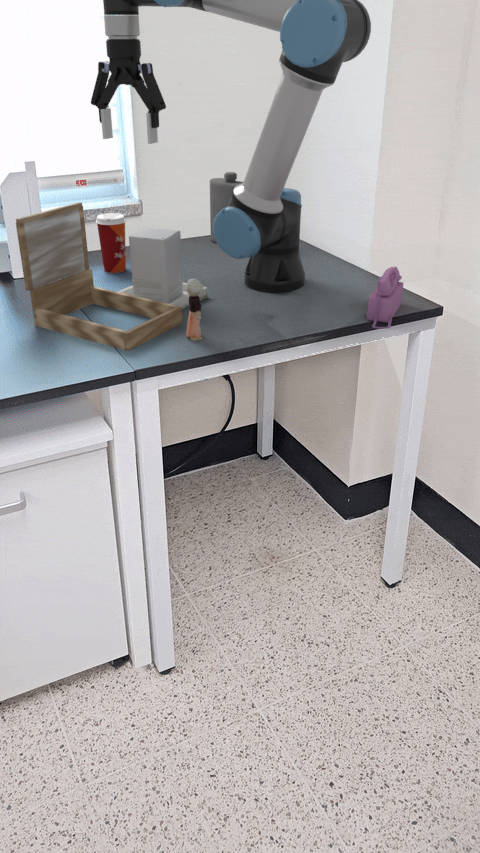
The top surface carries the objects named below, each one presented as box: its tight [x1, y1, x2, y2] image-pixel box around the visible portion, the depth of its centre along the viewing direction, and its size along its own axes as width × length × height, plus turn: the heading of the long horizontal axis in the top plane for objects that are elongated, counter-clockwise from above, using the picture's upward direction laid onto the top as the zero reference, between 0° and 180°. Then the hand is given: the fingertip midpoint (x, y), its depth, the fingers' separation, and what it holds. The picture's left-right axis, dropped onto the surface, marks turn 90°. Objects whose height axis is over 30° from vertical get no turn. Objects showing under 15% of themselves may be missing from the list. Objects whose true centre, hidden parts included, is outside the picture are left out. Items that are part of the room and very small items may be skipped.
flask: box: [209, 171, 244, 244], centre depth 207 cm, size 15×6×20 cm, turn 52°
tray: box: [117, 282, 209, 311], centre depth 168 cm, size 16×16×2 cm
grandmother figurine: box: [185, 278, 204, 341], centre depth 146 cm, size 8×4×13 cm, turn 24°
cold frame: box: [15, 201, 183, 352], centre depth 150 cm, size 27×18×23 cm
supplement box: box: [128, 226, 184, 304], centre depth 165 cm, size 9×9×15 cm
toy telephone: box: [366, 266, 404, 330], centre depth 158 cm, size 18×6×10 cm, turn 157°
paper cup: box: [95, 212, 127, 274], centre depth 186 cm, size 8×8×14 cm
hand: (130, 140), depth 169 cm, fingers open, 13 cm apart
